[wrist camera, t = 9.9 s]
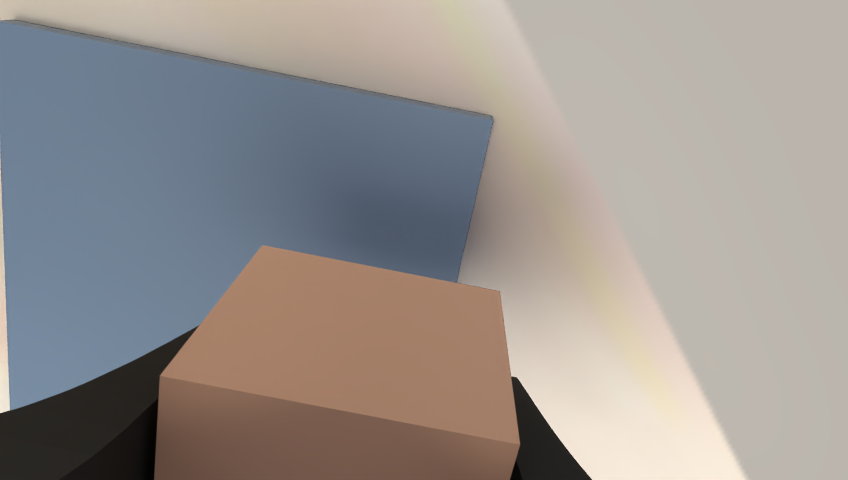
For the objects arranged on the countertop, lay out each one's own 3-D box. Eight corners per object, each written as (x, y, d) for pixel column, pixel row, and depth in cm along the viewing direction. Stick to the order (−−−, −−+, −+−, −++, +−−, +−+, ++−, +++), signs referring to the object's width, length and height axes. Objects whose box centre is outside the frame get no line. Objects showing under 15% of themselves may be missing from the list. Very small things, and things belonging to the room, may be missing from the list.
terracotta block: (262, 244, 12) (159, 375, 8) (499, 291, 12) (520, 444, 8) (240, 441, 14) (145, 636, 10) (451, 481, 14) (447, 692, 10)
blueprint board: (13, 19, 19) (-7, 20, 18) (492, 115, 19) (493, 121, 18) (27, 507, 25) (12, 525, 24) (387, 574, 26) (385, 594, 25)
